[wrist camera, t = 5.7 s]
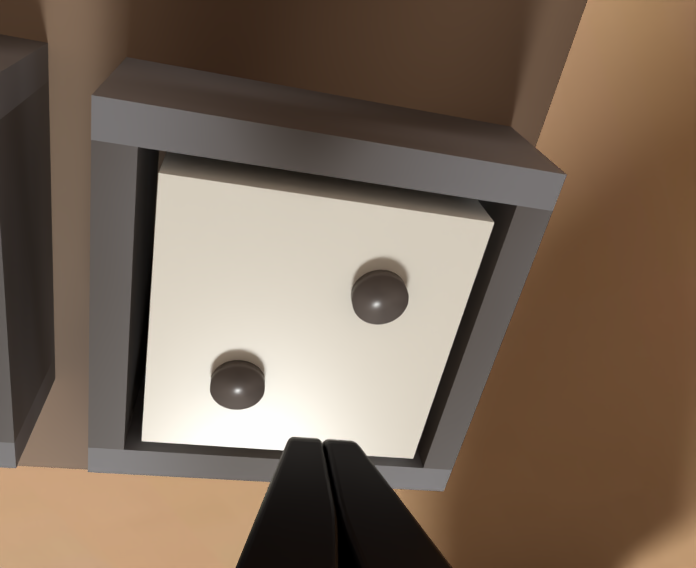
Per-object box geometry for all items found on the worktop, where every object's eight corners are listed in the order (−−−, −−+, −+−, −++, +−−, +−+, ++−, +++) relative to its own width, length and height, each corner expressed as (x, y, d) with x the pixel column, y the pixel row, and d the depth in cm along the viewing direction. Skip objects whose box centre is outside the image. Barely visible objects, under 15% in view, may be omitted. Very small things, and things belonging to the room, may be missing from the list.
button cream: (459, 176, 11) (498, 227, 10) (394, 391, 14) (415, 466, 12) (175, 129, 10) (156, 177, 9) (157, 370, 13) (139, 449, 11)
